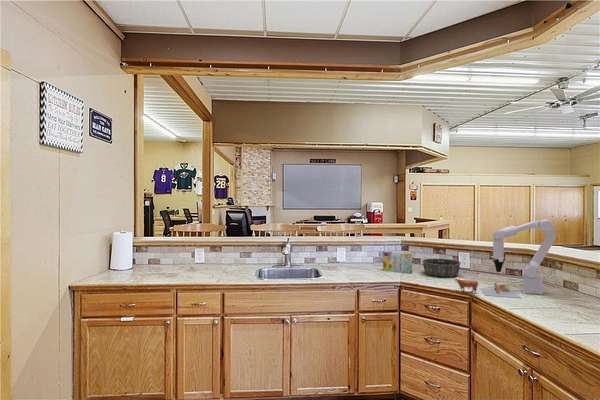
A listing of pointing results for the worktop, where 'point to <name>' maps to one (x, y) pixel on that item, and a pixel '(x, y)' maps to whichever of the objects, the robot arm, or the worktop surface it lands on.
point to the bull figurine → (466, 284)
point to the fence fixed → (503, 287)
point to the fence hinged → (496, 288)
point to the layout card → (500, 293)
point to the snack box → (397, 262)
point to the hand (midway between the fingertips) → (498, 271)
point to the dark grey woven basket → (441, 267)
